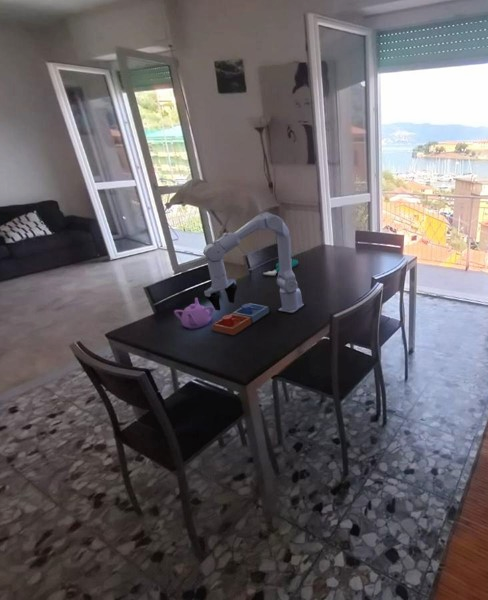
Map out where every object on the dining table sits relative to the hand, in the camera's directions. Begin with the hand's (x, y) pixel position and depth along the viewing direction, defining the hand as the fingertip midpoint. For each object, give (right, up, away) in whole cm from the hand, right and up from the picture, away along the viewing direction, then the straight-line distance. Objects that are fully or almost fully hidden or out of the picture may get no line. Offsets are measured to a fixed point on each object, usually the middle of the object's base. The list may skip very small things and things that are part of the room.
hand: (224, 306), depth 145 cm
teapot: (-15, -8, +7) cm, 18 cm away
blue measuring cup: (+6, -4, +13) cm, 15 cm away
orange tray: (+2, -9, +3) cm, 10 cm away
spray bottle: (+3, +21, +69) cm, 72 cm away
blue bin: (+6, -4, +13) cm, 15 cm away
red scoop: (+2, -8, +3) cm, 9 cm away
